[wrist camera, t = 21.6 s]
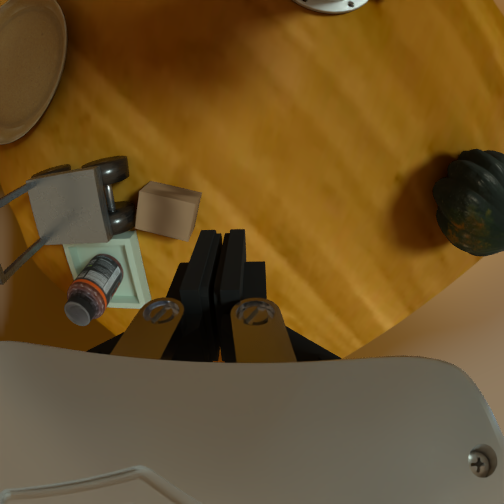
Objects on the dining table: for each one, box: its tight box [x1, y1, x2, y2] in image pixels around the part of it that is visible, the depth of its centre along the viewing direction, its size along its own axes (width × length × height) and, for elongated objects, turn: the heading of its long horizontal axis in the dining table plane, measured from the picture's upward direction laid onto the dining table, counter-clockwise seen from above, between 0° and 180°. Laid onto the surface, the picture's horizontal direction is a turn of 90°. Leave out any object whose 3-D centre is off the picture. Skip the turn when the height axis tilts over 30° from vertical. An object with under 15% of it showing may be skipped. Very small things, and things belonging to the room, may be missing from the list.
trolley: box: [0, 156, 136, 285], centre depth 31 cm, size 15×9×18 cm, turn 92°
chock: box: [135, 181, 202, 241], centre depth 38 cm, size 7×5×4 cm
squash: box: [433, 149, 504, 256], centre depth 32 cm, size 14×15×15 cm
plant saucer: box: [0, 0, 68, 144], centre depth 27 cm, size 24×24×3 cm
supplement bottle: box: [64, 254, 124, 326], centre depth 39 cm, size 6×6×11 cm
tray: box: [63, 231, 151, 309], centre depth 43 cm, size 12×12×2 cm
